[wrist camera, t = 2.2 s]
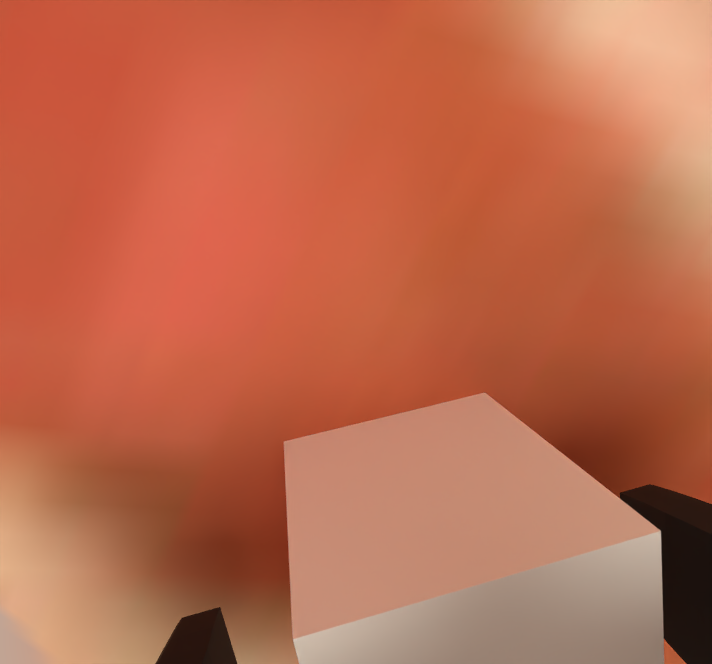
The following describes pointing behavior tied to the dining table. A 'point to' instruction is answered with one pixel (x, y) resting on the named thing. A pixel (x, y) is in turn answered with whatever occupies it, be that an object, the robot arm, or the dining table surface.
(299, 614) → the peach block
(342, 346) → the dining table surface
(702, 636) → the robot arm
